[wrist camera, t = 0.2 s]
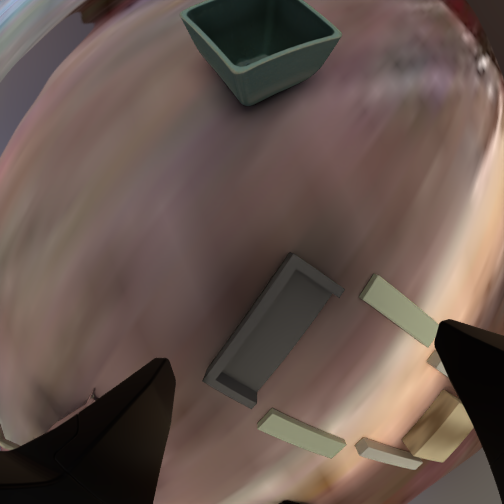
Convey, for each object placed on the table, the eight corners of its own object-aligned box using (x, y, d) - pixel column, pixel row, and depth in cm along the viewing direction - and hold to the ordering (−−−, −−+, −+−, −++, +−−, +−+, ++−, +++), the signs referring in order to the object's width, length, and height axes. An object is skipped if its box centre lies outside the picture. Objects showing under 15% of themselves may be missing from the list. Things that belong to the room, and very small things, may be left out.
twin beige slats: (409, 461, 24) (415, 469, 22) (354, 445, 23) (359, 455, 21) (475, 382, 23) (484, 388, 21) (434, 350, 23) (444, 356, 21)
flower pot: (271, 37, 22) (274, -22, 13) (321, 92, 22) (346, 34, 13) (197, 70, 22) (176, 12, 13) (243, 131, 23) (236, 75, 14)
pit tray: (252, 395, 23) (251, 409, 21) (207, 368, 23) (202, 381, 21) (336, 284, 23) (344, 289, 20) (289, 252, 23) (293, 253, 20)
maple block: (430, 447, 24) (442, 462, 20) (400, 438, 24) (413, 456, 20) (467, 403, 23) (482, 416, 19) (442, 388, 23) (459, 402, 19)
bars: (329, 453, 24) (331, 458, 23) (257, 423, 24) (257, 428, 23) (436, 324, 23) (441, 326, 22) (373, 273, 23) (378, 274, 22)
